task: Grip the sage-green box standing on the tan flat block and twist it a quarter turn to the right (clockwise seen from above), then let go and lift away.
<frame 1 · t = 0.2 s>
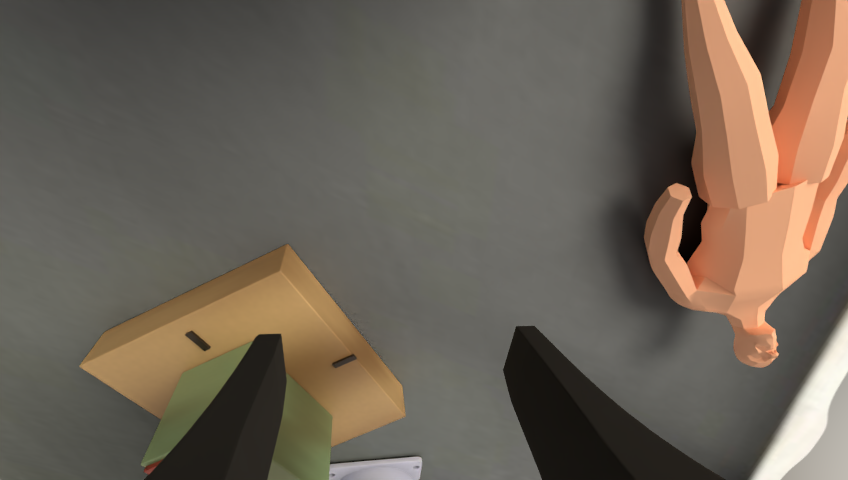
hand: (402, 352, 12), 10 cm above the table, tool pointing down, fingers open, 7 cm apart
tan flat block: (271, 361, 25), on the table
box: (254, 438, 21), point 5 cm above the table, hinge at 0.0°
male figurine: (720, 172, 23), on the table
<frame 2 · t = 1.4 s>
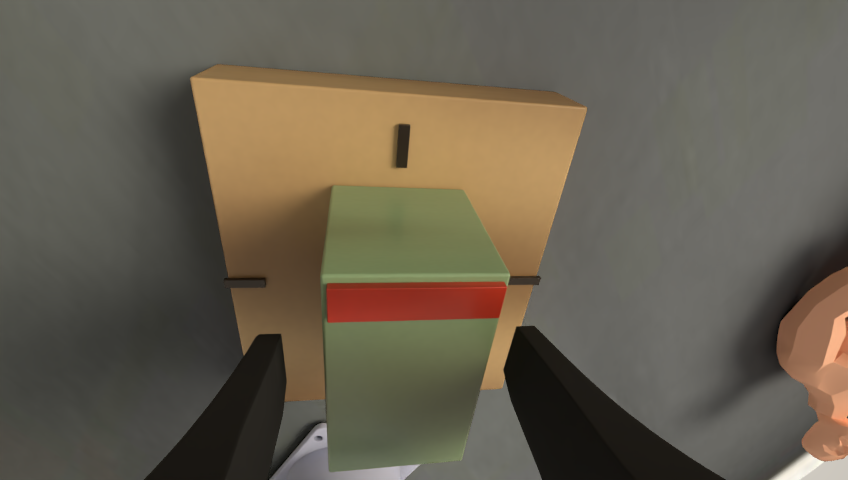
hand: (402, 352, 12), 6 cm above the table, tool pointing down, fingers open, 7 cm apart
tan flat block: (388, 246, 17), on the table
box: (398, 329, 13), point 5 cm above the table, hinge at 0.0°
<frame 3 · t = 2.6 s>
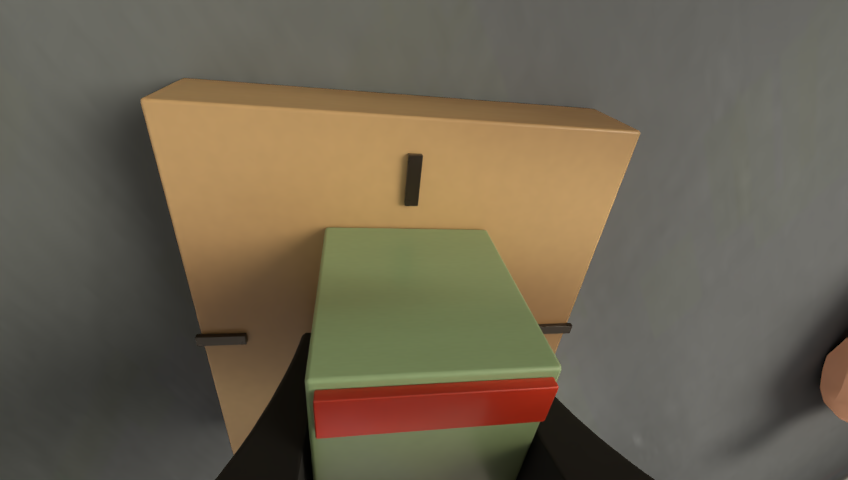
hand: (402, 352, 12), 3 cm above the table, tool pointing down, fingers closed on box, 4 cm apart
tan flat block: (392, 284, 15), on the table
box: (407, 402, 11), point 5 cm above the table, hinge at 0.0°, touching gripper
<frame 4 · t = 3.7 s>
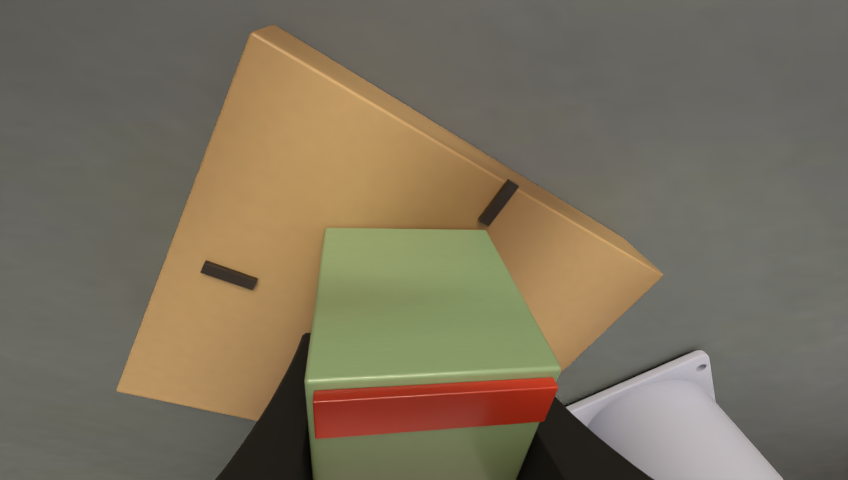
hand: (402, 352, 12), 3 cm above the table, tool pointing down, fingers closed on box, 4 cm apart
tan flat block: (392, 284, 15), on the table
box: (407, 402, 11), point 5 cm above the table, hinge at -63.6°, touching gripper
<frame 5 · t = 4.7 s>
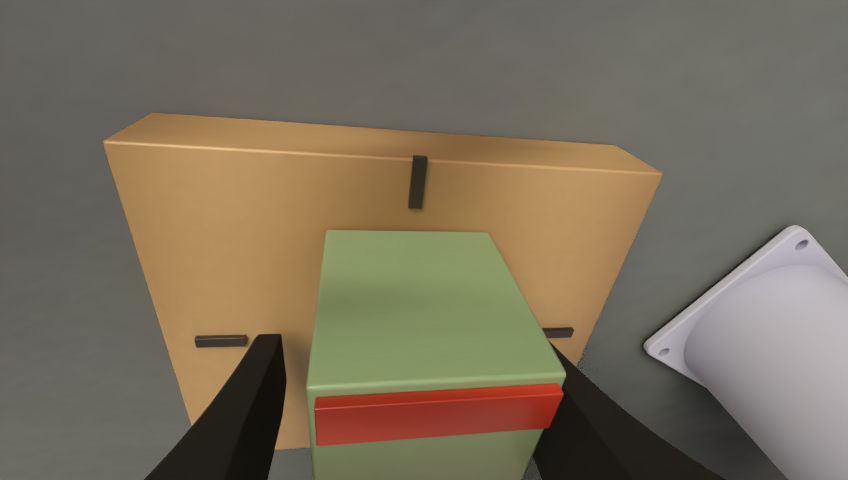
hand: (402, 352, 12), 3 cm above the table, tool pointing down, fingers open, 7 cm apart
tan flat block: (393, 287, 15), on the table
box: (409, 407, 11), point 5 cm above the table, hinge at -89.4°
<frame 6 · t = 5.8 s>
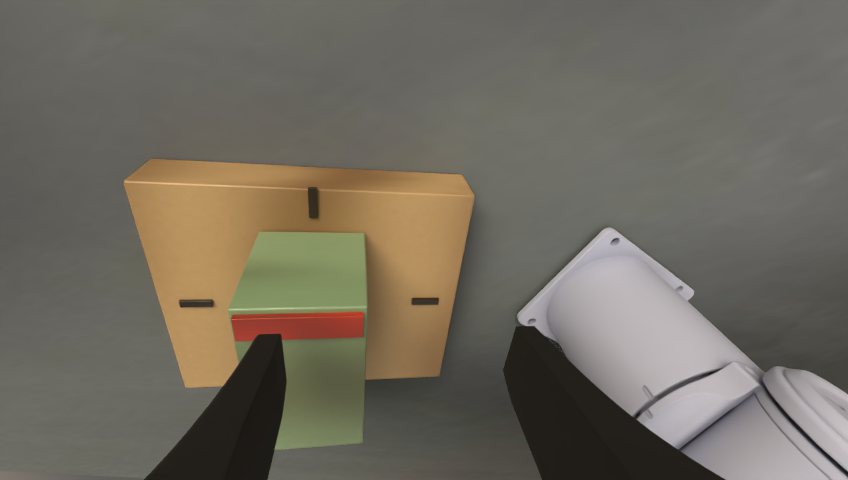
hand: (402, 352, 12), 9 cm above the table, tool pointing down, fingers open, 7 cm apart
tan flat block: (320, 271, 21), on the table
box: (311, 341, 17), point 5 cm above the table, hinge at -89.4°
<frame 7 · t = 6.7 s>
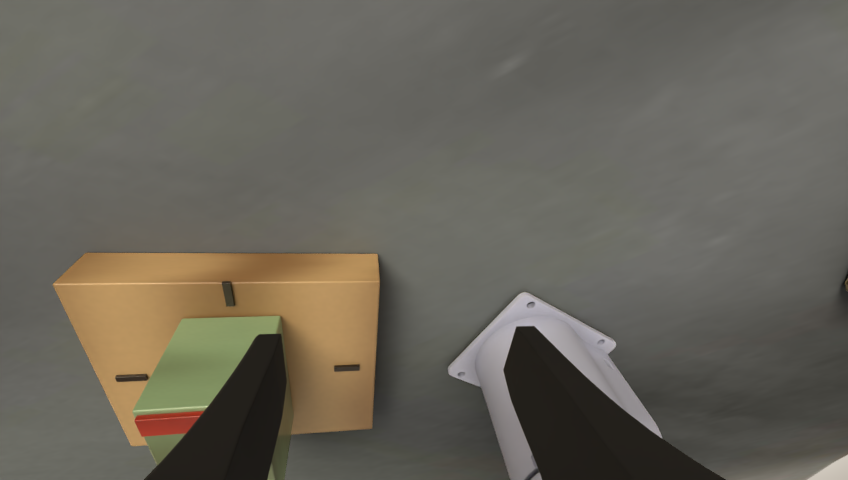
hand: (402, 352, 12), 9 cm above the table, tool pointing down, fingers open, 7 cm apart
tan flat block: (254, 337, 23), on the table
box: (231, 416, 19), point 5 cm above the table, hinge at -89.4°
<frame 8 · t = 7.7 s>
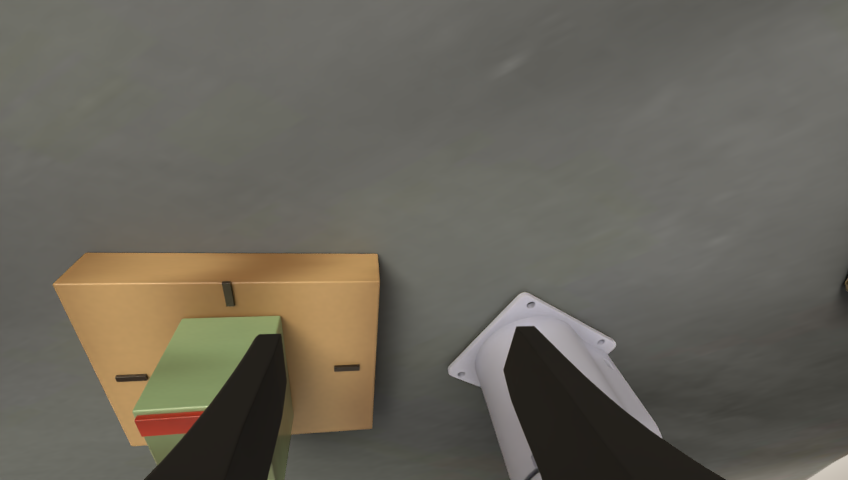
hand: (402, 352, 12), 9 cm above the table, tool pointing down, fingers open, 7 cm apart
tan flat block: (254, 337, 23), on the table
box: (231, 416, 19), point 5 cm above the table, hinge at -89.4°
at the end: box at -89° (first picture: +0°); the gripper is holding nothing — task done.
